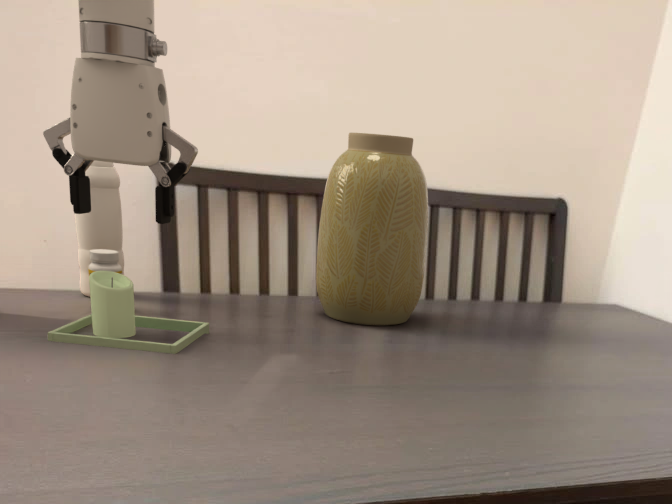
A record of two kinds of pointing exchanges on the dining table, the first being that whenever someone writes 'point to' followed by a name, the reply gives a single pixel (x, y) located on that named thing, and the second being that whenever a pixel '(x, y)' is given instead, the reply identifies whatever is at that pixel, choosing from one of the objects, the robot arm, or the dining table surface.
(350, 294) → the vase
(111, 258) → the supplement bottle
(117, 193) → the water bottle
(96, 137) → the robot arm
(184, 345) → the tray
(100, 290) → the candle
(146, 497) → the dining table surface
